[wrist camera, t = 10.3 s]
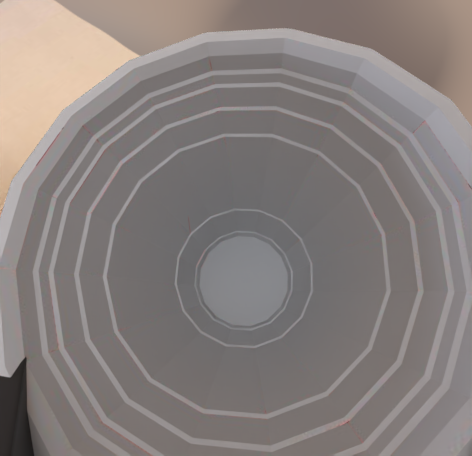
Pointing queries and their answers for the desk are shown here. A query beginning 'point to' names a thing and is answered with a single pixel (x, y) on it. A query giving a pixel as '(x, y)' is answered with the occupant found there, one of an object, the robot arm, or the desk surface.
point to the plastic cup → (245, 258)
